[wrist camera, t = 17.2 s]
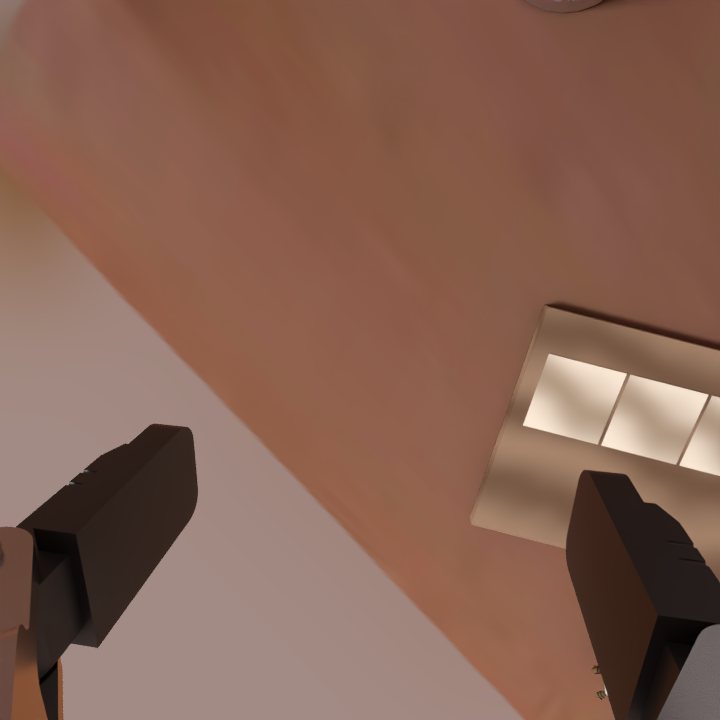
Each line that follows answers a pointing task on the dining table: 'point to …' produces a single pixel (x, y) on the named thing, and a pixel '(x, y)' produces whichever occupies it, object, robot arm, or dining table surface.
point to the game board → (607, 429)
